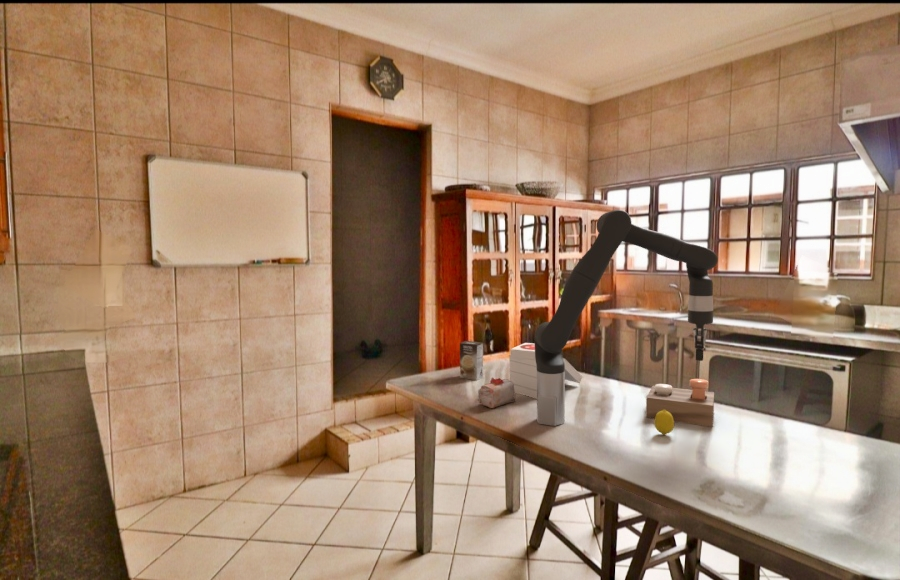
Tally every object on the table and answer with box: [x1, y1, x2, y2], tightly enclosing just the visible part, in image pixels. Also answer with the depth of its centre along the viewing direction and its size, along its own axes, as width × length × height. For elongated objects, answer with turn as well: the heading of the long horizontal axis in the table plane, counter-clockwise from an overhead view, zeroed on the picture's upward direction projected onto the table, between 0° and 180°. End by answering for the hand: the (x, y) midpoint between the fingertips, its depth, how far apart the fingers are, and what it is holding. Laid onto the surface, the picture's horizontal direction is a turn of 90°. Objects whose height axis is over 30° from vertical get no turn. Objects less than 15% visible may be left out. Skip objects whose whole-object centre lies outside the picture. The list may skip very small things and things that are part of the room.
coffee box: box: [459, 340, 484, 381], centre depth 225 cm, size 9×6×16 cm
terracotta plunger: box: [689, 378, 709, 400], centre depth 168 cm, size 6×6×8 cm
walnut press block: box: [645, 385, 715, 428], centre depth 171 cm, size 16×20×7 cm
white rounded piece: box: [654, 383, 673, 396], centre depth 174 cm, size 6×6×8 cm
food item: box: [477, 377, 516, 409], centre depth 187 cm, size 14×8×10 cm, turn 132°
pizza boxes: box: [508, 342, 583, 400], centre depth 206 cm, size 19×30×18 cm, turn 127°
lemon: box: [654, 410, 675, 436], centre depth 154 cm, size 6×6×8 cm
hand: (699, 360), depth 167 cm, fingers closed
